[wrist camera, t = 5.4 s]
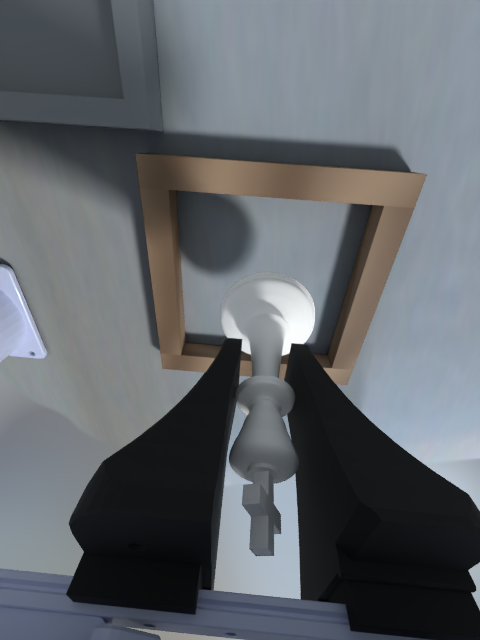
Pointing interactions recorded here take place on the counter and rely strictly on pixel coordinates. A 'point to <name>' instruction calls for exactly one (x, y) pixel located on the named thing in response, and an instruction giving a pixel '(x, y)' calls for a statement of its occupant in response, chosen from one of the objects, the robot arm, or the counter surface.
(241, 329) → the chess piece
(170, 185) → the brown square frame
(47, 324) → the counter surface
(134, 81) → the tray
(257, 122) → the counter surface
